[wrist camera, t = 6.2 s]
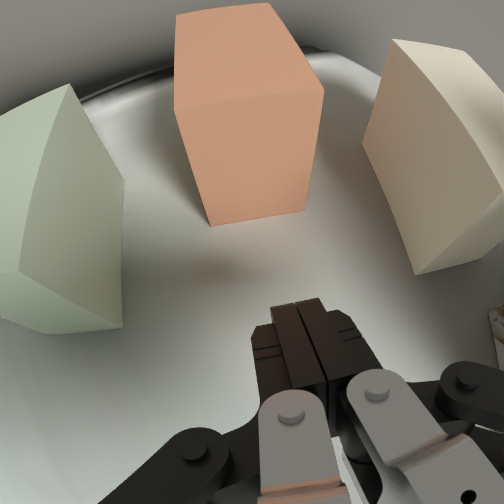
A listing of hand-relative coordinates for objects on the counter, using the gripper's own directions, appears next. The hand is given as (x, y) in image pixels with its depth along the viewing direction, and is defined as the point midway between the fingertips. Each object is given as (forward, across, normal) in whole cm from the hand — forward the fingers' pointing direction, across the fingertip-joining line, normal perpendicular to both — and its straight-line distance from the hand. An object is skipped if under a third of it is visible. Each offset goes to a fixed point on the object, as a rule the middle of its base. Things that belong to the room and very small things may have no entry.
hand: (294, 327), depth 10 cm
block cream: (+8, -10, -1) cm, 13 cm away
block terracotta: (+11, 0, -5) cm, 12 cm away
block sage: (+8, +10, -1) cm, 13 cm away
